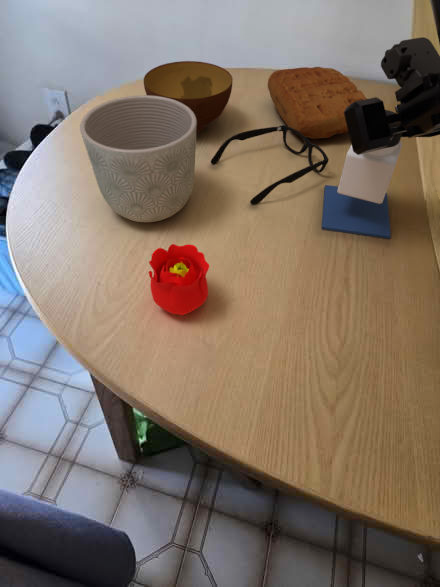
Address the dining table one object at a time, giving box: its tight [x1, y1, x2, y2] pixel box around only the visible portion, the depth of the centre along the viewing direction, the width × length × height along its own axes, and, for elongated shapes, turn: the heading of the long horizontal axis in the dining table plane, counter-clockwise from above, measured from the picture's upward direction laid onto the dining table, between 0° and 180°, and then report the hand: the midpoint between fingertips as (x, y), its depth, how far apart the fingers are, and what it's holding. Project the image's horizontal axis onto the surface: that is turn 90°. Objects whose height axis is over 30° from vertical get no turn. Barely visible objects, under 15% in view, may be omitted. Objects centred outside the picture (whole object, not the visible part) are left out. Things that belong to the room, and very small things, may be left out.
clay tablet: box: [267, 66, 368, 139], centre depth 91 cm, size 22×17×8 cm
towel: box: [321, 184, 392, 240], centre depth 73 cm, size 11×12×1 cm
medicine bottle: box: [337, 109, 403, 204], centre depth 65 cm, size 7×7×12 cm
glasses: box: [210, 124, 330, 205], centre depth 80 cm, size 17×18×5 cm
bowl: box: [143, 60, 233, 134], centre depth 88 cm, size 18×18×10 cm
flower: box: [148, 243, 210, 316], centre depth 57 cm, size 8×8×8 cm
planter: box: [79, 94, 197, 223], centre depth 68 cm, size 17×17×15 cm
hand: (371, 137), depth 64 cm, fingers closed on medicine bottle, 6 cm apart
